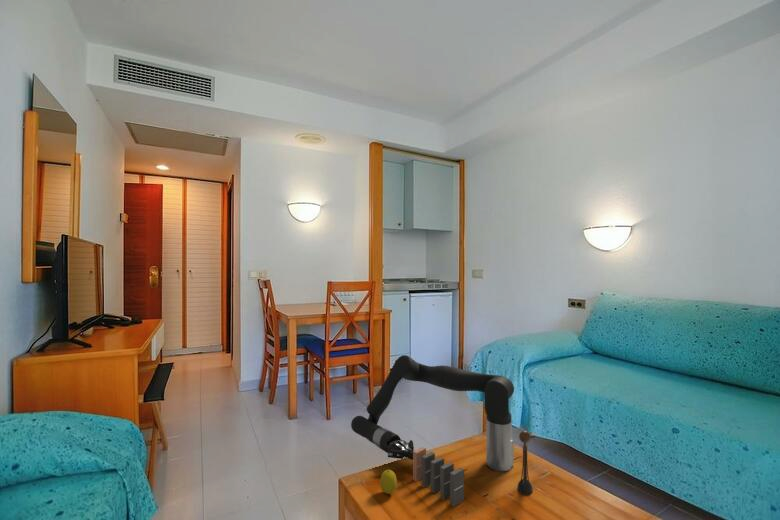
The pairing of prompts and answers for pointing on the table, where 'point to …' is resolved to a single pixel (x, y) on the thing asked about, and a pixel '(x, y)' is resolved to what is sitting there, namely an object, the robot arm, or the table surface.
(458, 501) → the charcoal domino
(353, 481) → the table surface
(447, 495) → the charcoal domino
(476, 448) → the table surface
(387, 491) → the lemon
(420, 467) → the terracotta domino
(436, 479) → the charcoal domino
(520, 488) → the wooden tabletop sculpture
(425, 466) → the charcoal domino
